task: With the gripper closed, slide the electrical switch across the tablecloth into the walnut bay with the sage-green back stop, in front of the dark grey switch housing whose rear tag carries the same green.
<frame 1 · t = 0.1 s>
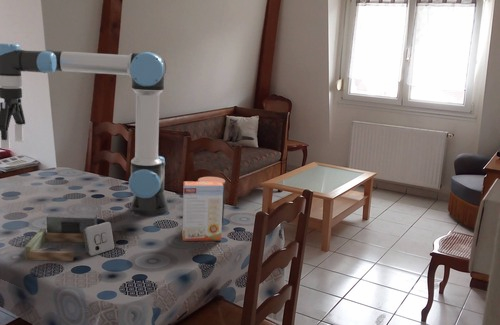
hand: (12, 144, 191), 28 cm above the table, tool pointing down, fingers open, 13 cm apart
electrical switch: (97, 251, 171), on the table
cracker box: (201, 238, 187), on the table
bay: (57, 249, 170), on the table
coffee jar: (209, 224, 202), on the table
switch housing: (72, 237, 180), on the table
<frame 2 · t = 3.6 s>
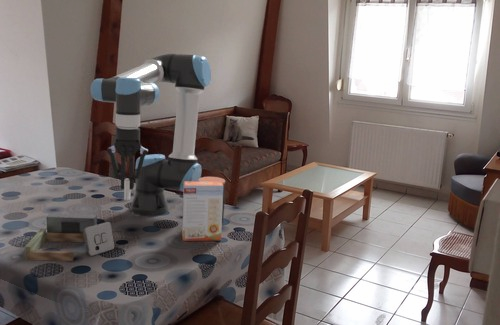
hand: (127, 198, 167), 18 cm above the table, tool pointing down, fingers closed
nothing on the table moved.
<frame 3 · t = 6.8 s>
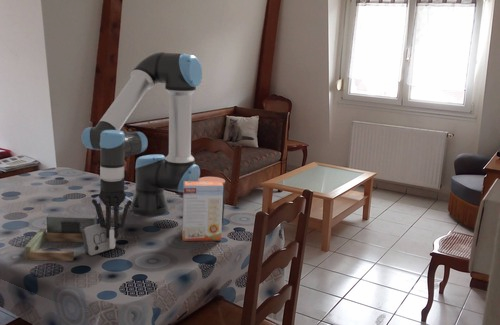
hand: (112, 247, 171), 1 cm above the table, tool pointing down, fingers closed
electrical switch: (96, 251, 171), on the table, touching gripper
everything else where it was.
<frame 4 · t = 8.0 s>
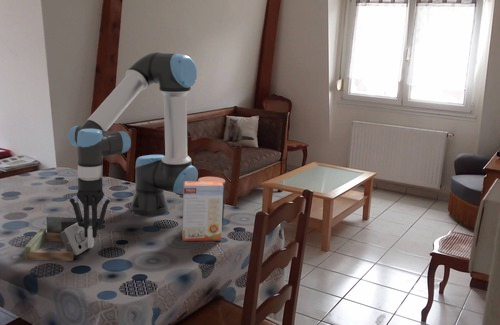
hand: (90, 246, 170), 1 cm above the table, tool pointing down, fingers closed
electrical switch: (78, 251, 169), on the table, touching gripper
everything else where it was.
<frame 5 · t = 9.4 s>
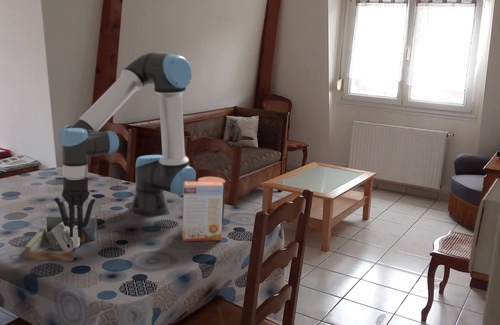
hand: (76, 245, 170), 1 cm above the table, tool pointing down, fingers closed
electrical switch: (65, 251, 169), on the table, touching gripper
everything else where it was.
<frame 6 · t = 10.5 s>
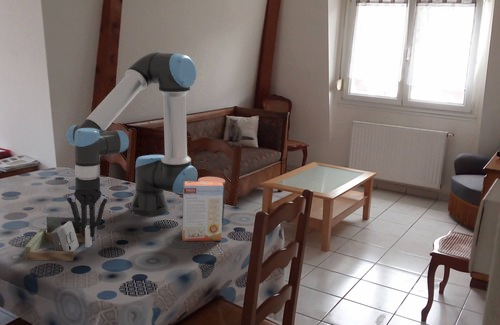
hand: (88, 245, 170), 2 cm above the table, tool pointing down, fingers closed
electrical switch: (65, 252, 169), on the table
everything else where it was.
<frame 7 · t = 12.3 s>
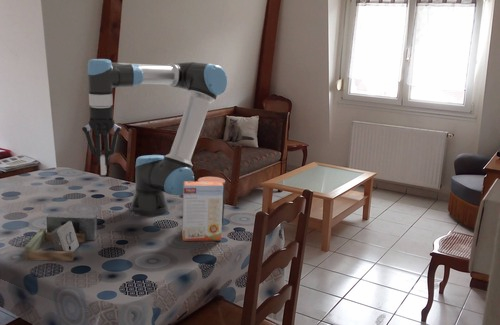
hand: (103, 174, 178), 23 cm above the table, tool pointing down, fingers closed
nothing on the table moved.
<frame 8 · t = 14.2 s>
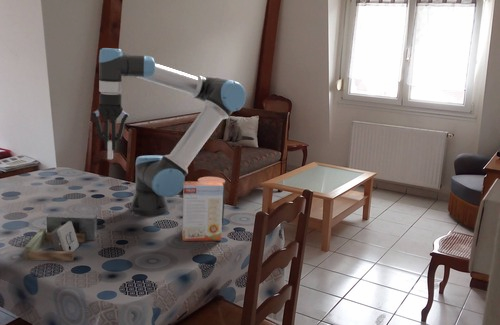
hand: (110, 158, 186), 26 cm above the table, tool pointing down, fingers closed
nothing on the table moved.
at the end: electrical switch inside the target area on the bay (3.2 cm from its centre), point 0.0 cm above the bay's base; electrical switch tilted 0°; electrical switch moved 10.2 cm from its start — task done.
